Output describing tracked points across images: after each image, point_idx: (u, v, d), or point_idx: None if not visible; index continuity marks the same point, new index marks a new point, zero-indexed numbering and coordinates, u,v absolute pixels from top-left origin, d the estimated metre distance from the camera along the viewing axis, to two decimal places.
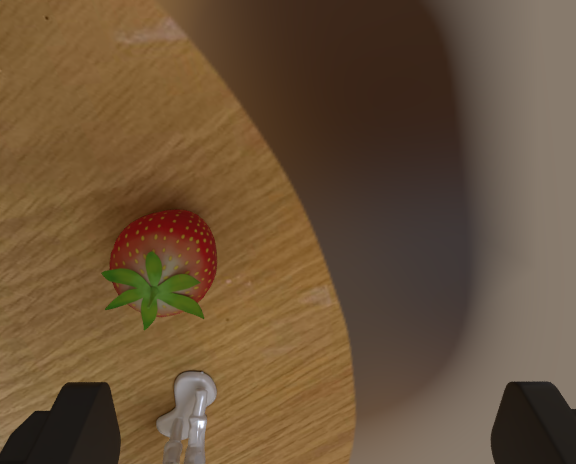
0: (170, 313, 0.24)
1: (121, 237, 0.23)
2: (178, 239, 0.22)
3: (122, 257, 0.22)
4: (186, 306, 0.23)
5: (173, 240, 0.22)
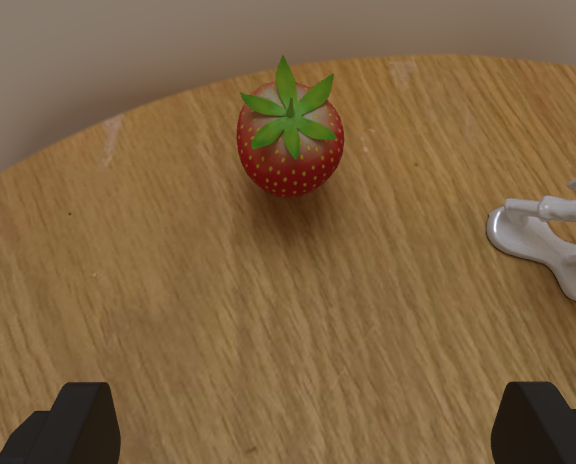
0: (330, 119, 0.22)
1: (244, 159, 0.22)
2: (251, 94, 0.22)
3: None
4: (320, 94, 0.22)
5: None
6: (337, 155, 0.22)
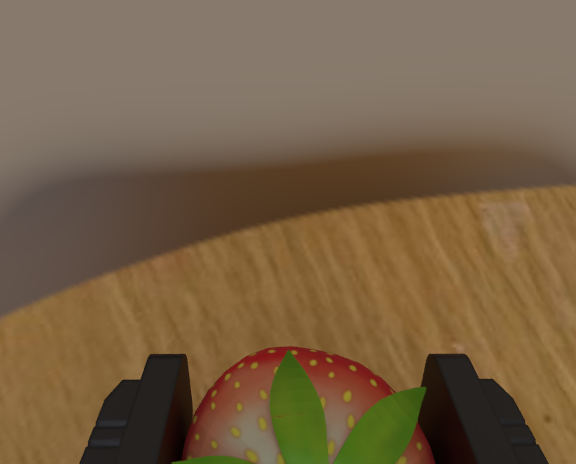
0: None
1: None
2: (211, 403, 0.09)
3: None
4: (389, 434, 0.08)
5: (207, 415, 0.09)
6: None
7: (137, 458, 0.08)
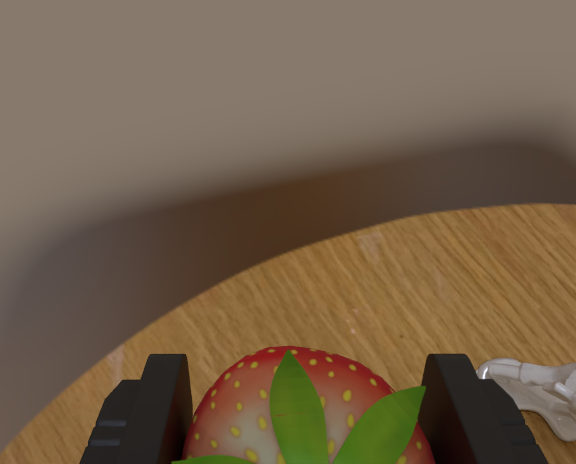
0: None
1: None
2: (211, 403, 0.09)
3: None
4: (388, 434, 0.08)
5: (207, 415, 0.09)
6: None
7: (137, 458, 0.08)
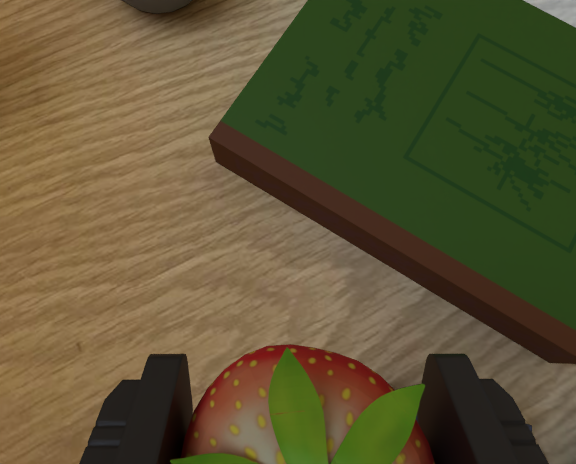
0: None
1: None
2: (210, 401, 0.09)
3: None
4: (387, 432, 0.08)
5: (206, 413, 0.09)
6: None
7: (137, 458, 0.08)
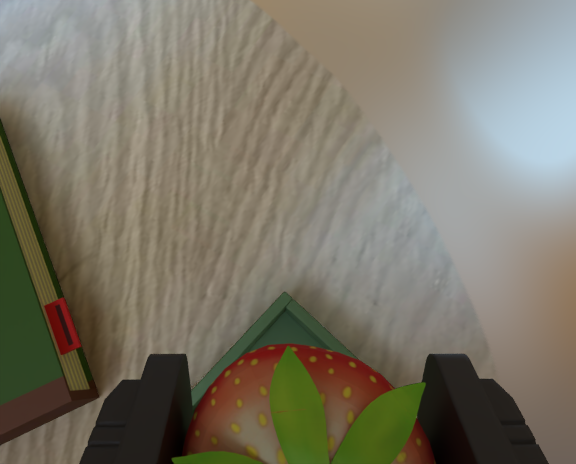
0: None
1: None
2: (211, 399, 0.09)
3: None
4: (388, 430, 0.08)
5: (207, 412, 0.09)
6: None
7: (137, 458, 0.08)
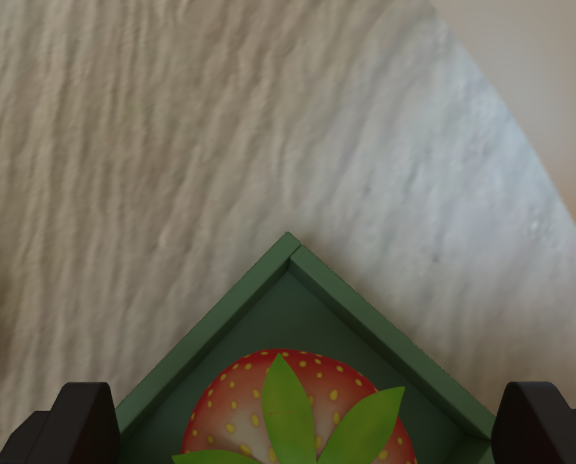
0: None
1: None
2: (208, 401, 0.10)
3: None
4: (371, 430, 0.09)
5: (204, 413, 0.10)
6: None
7: None
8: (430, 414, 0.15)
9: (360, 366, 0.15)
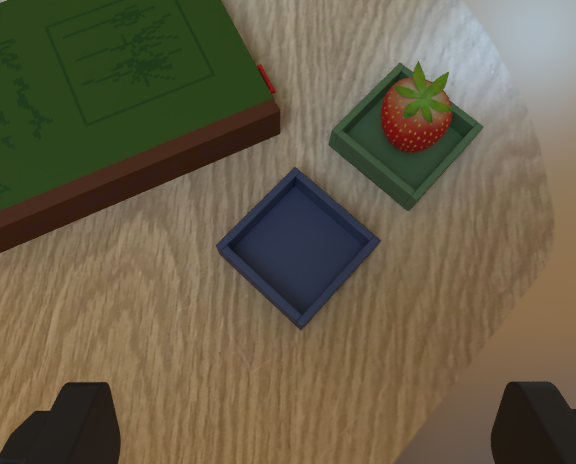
0: (446, 100, 0.35)
1: (389, 126, 0.36)
2: (393, 86, 0.36)
3: (400, 118, 0.35)
4: (440, 85, 0.35)
5: (393, 88, 0.35)
6: (449, 123, 0.35)
7: None
8: (451, 132, 0.41)
9: None
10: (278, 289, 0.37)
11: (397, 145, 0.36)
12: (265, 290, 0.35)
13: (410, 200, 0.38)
